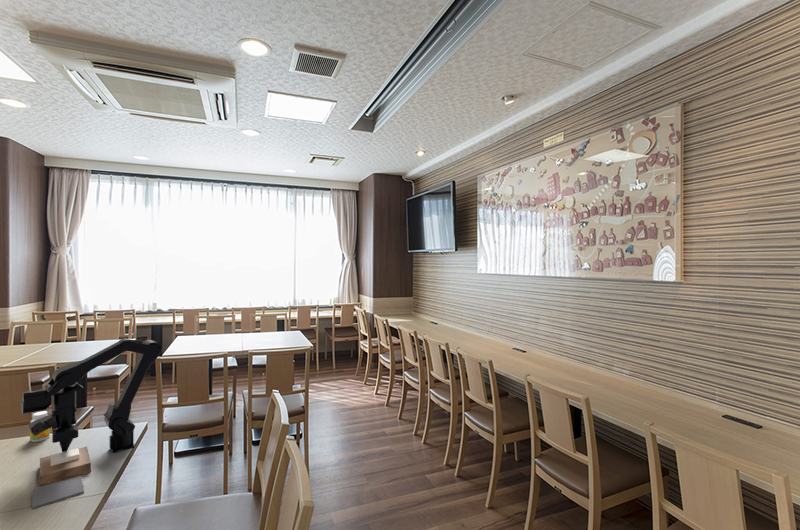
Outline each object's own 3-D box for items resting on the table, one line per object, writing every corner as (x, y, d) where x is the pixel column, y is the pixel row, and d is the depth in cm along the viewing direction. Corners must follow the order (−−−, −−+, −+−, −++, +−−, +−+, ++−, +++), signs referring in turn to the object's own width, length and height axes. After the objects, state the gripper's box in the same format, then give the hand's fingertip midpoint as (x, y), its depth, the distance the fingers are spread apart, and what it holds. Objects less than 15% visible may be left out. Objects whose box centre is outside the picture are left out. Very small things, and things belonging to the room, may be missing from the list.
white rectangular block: (78, 452, 129) (78, 448, 129) (79, 458, 126) (79, 454, 126) (50, 459, 124) (50, 455, 124) (50, 466, 121) (50, 461, 121)
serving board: (86, 454, 134) (87, 446, 134) (90, 471, 123) (90, 462, 123) (39, 467, 125) (39, 458, 125) (39, 486, 115) (39, 476, 115)
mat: (81, 476, 121) (81, 475, 121) (83, 492, 113) (83, 491, 113) (32, 490, 113) (32, 488, 113) (31, 509, 105) (31, 507, 105)
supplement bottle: (27, 443, 141) (27, 417, 141) (33, 437, 145) (33, 411, 145) (46, 440, 143) (47, 414, 143) (51, 434, 148) (52, 409, 148)
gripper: (32, 403, 129) (31, 448, 129) (30, 421, 115) (29, 472, 115) (75, 395, 136) (75, 438, 137) (78, 411, 123) (78, 460, 123)
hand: (64, 451), depth 128 cm, fingers closed
